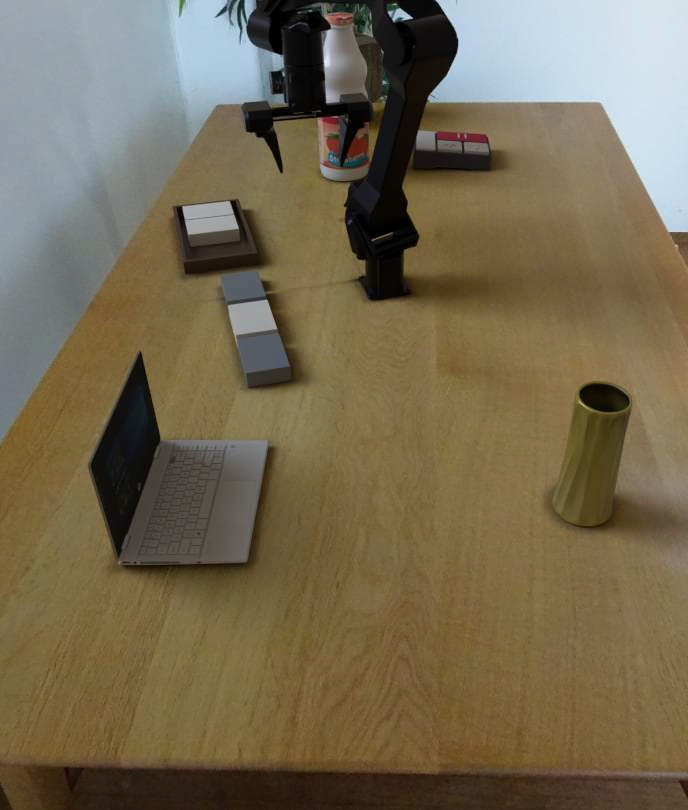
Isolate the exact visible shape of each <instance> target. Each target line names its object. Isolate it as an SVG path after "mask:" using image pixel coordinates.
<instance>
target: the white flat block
mask: <svg viewBox="0 0 688 810" xmlns="http://www.w3.org/2000/svg"><path fill="white" fill-rule="evenodd" d="M228 309H229V313H228V315H229V316H228V317H229V320H230V324H231V328H232V331H233V336H234V340H235V344H236V347H237V349H238V344H237V339H242V338H248V337H255V336H262V335H268V334H275V333H279V331H278V325H277V324H276V320H275V318H274V314H273V311H272V308H271V307H270V303H269V299H267V300H261V301H254V302H247V303H240V304H233V305H228ZM228 309H227V310H228Z"/></svg>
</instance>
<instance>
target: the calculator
mask: <svg viewBox="0 0 688 810" xmlns="http://www.w3.org/2000/svg"><path fill="white" fill-rule="evenodd" d="M491 151H492V150H491V146H490V141H489V137H488V136H487V134H485V133H475V132H474V133H471V132H459V131H457V132H456V131H444V130H443V131H442V130H437V131H436V132H435V131H430V130H418V134H417V137H416V141H415V144H414V148H413V151H412V168H413V169H418V170H433V169H435V168H448V169H463V170H464V169H465V170H478V171H490V168H491V163H492V162H491V161H492V152H491Z"/></svg>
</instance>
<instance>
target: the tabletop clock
mask: <svg viewBox="0 0 688 810" xmlns="http://www.w3.org/2000/svg"><path fill="white" fill-rule="evenodd" d="M337 5H339V3H332V5H331V7H330V13H334V9H335V7H336V6H337ZM354 5H355V10H354V11H353V12H352V13H351V14H353V16H354V17H355V16H356V14H357V13H358V11H359V4H354ZM343 12H344V13H347V11H343ZM352 28H353V32H354V35H355V39H356V42H357V44H358V47H359V50H360V52H361V54H362V56H363V58H364V59H365V61H366V65H367V76H366V80H365V89H366V92H367V96H368V100H369V101H370V102H371V103H372V104H373V103H375V102H377V101H378V100H379V99H380V98H381V96H382V92H383V80H384V78H383V77H384V69H383V66H382V61H383V51H382V49H381V48H380V46H379V45H378V43H377V41H376V40H375V38H374V37H373V36H371V35H367V34H364V33H362V32H358V30H357V27H356V25H355V24H354V26H353V27H352ZM326 35H327V32H325V33H323V47H324V43H325V39H326Z"/></svg>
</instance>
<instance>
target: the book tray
mask: <svg viewBox="0 0 688 810" xmlns="http://www.w3.org/2000/svg"><path fill="white" fill-rule="evenodd" d="M226 201H230V203H231V206H232V209H233V212H234V215H235V218H236V221H237V224H238V227H239V233H240V241H236V242H228V243H220V244H212V245H204V246H196V247H190V243H189V238H188V233H187V229H186V224H185V219H184V214H183V207H182V206H190V205H199V204H208V203H217V202H226ZM172 212H173V217H174V223H175V228H176V233H177V239H178V244H179V249H180V254H181V260H182V264H183V265H182V266H183V270H184V275H193V274H199V273H207V272H216V271H222V270H231V269H238V268H246V267H253V266H259V265H260V262H259V252H258V250H257V246H256V243H255V241H254V238H253V236H252V233H251V231H250V227H249V224H248V221H247V219H246V216H245V213H244V210H243V208H242V204H241V201H240V199H239V198H233V199H223V200H215V201H214V200H213V201H207V202H206V201H205V202H198V203H197V202H196V203H189V204H188V203H187V204H180V205H179V204H178V205H172Z"/></svg>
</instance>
